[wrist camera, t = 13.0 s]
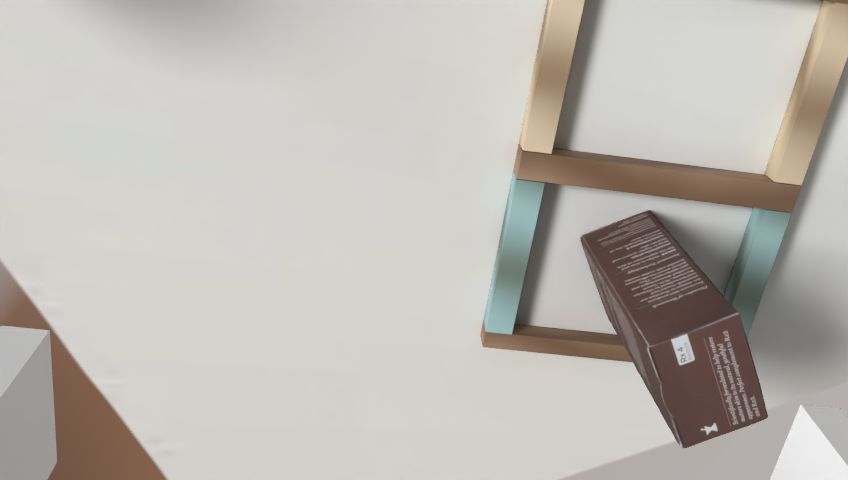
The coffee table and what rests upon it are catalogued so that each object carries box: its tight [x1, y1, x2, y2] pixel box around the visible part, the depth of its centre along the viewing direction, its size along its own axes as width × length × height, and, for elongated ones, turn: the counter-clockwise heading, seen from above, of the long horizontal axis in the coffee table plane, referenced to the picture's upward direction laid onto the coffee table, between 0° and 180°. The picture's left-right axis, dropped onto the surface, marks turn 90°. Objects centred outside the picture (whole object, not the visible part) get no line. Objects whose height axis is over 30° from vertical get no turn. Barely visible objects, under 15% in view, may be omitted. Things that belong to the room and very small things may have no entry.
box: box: [581, 210, 768, 448], centre depth 40 cm, size 6×4×12 cm
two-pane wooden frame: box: [481, 0, 848, 362], centre depth 43 cm, size 22×15×1 cm
